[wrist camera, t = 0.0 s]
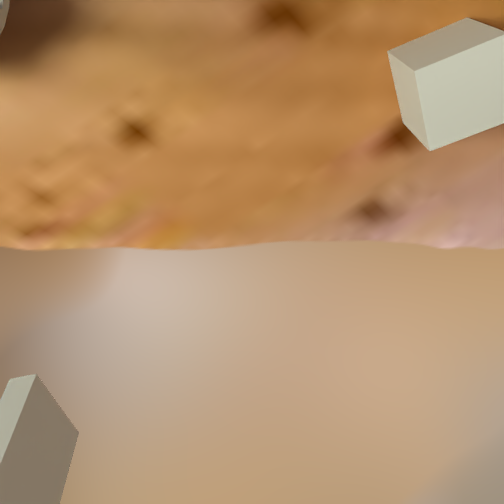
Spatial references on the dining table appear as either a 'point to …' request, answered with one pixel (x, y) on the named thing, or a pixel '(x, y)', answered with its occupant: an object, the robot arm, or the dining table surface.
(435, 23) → the dining table surface
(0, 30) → the flag stand
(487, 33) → the white cube
